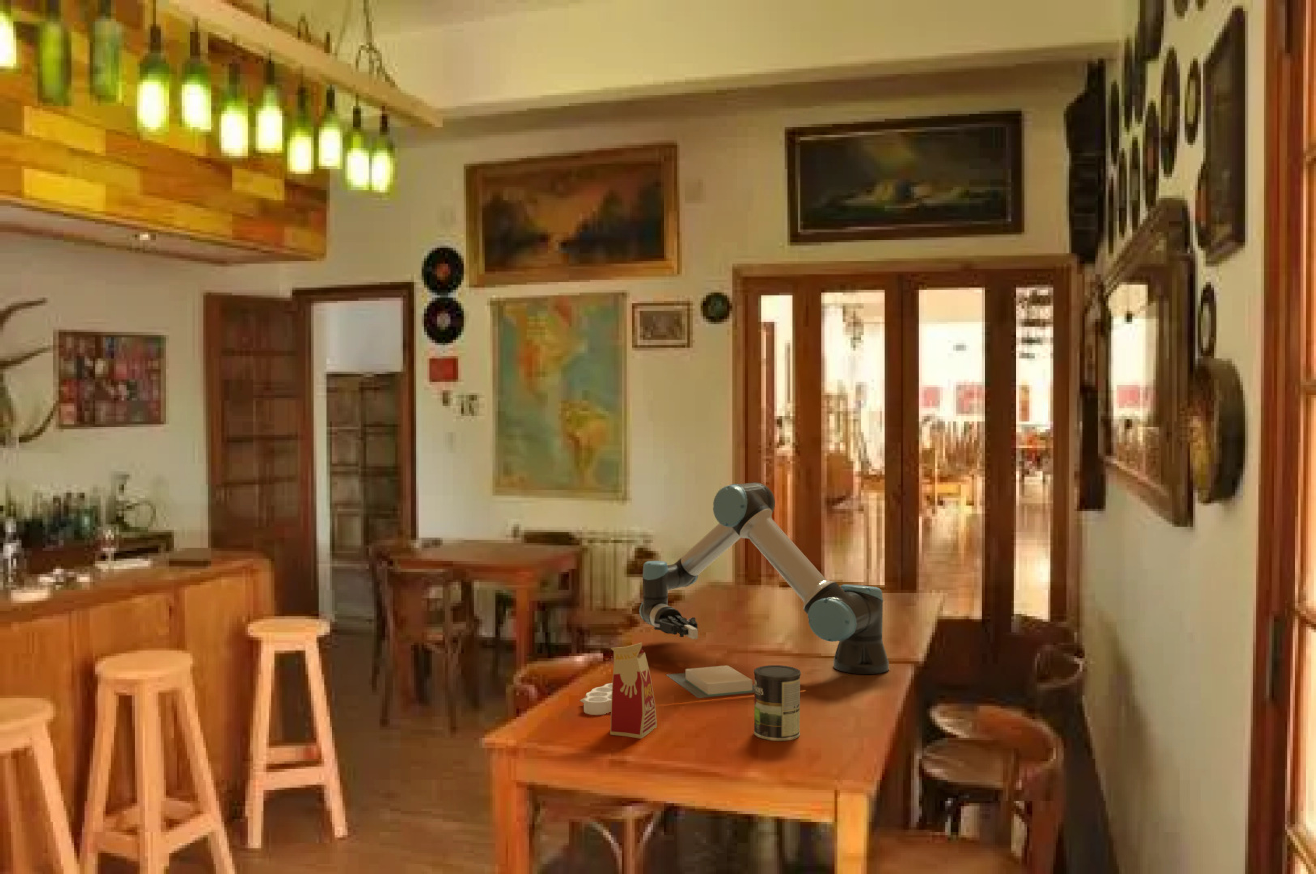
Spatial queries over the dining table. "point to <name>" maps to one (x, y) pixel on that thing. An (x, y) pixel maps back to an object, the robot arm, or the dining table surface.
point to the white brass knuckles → (598, 700)
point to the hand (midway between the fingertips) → (695, 634)
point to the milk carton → (632, 694)
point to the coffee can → (777, 703)
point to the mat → (689, 687)
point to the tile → (718, 680)
